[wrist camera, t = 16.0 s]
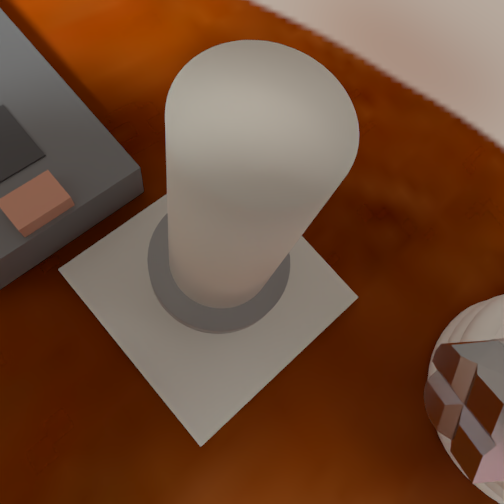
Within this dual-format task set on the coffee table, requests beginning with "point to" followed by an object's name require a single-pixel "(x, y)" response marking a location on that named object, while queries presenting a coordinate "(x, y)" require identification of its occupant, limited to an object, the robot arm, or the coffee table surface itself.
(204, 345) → the mat
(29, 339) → the coffee table surface
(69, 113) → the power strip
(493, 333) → the coaster
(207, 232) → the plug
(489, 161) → the coffee table surface
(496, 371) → the robot arm
